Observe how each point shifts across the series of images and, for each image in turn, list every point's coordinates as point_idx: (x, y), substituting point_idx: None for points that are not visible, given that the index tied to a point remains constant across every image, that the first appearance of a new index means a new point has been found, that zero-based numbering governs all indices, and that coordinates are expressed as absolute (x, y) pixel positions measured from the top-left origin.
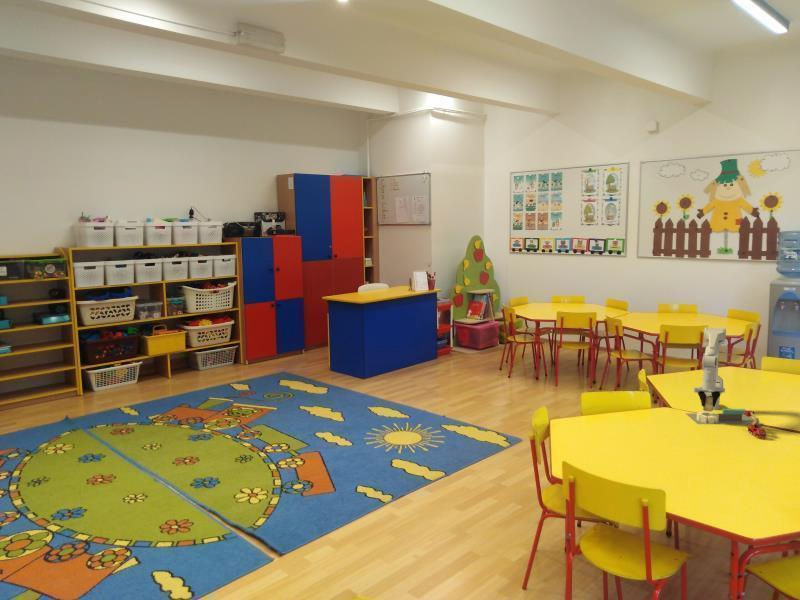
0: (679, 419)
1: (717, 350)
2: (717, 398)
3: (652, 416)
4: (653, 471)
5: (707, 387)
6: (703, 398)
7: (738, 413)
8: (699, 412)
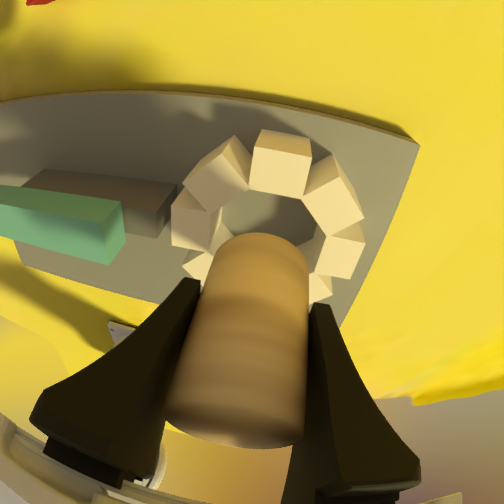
0: (415, 286)
1: None
2: (108, 359)
3: (483, 334)
4: None
5: None
6: (359, 408)
7: (25, 191)
8: (309, 293)
